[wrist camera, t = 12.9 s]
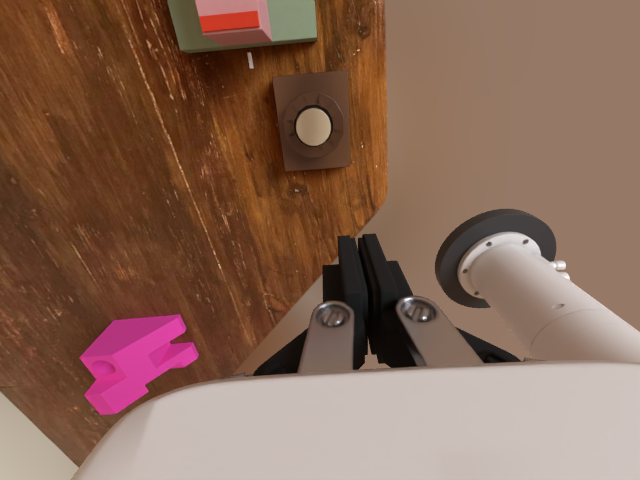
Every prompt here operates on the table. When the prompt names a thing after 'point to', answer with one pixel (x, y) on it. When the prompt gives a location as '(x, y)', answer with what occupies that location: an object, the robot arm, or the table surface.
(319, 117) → the button
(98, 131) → the table surface
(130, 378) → the bracket
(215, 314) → the table surface
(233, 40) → the pink bar
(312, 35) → the green mat
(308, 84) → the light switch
